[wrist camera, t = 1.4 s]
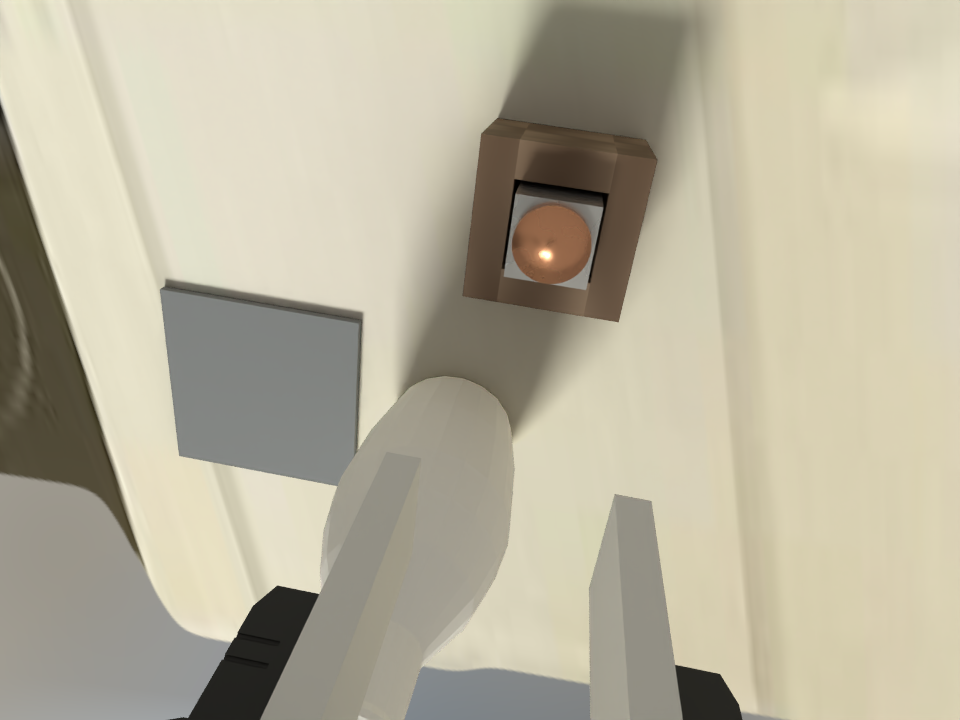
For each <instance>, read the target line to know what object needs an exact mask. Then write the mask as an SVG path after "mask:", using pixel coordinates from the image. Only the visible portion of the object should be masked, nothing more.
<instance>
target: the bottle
mask: <svg viewBox="0 0 960 720" xmlns="http://www.w3.org/2000/svg"><path fill="white" fill-rule="evenodd" d="M386 452H390V453H396V454H401V455H407V456H412V457H417V458H421V468H420V478H419V488H418V499H417V509H416V520H415V530H414V540H413V551H412V556H411V559H410V562H409V565H408V568H407V571H406V574H405V577H404V580H403V583H402V586H401V589H400V592H399V595H398V598H397V601H396V604H395V607H394V610H393V613H392V616H391V619H390V622H389V625H388V628H387V631H386V634H385V637H384V640H383V643H382V646H381V649H380V652H379V655H378V658H377V661H376V665H375V668H374V671H373V674H372V677H371V680H370V683H369V686H368V689H367V692H366V695H365V698H364V701H363V704H362V707H361V710H360V713H359V716H358V719H357V720H404V718H405V715H406V712H407V708H408V706H409V703H410V699H411V696H412V693H413V690H414V687H415V684H416V681H417V677H418V675H419V672H420V668H422V667H423V666H424V665H425V664H426V663H427V662H428V661H429V660H431V659H432V658H433V657H434V656H435V655H436V654H437V653H438V652H440V651H441V650H442V649H443V648H444V647H445V646H446V645H447V644H449V643H450V642H451V641H452V640H453V639H454V638H455V637H456V636H458V635H459V634H460V633H461V632H462V631H463V630H464V629H465V627H466V625H467V624H468V622H469V621H470V619H471V617H472V616H473V614H474V613H475V611H476V609H477V608H478V606H479V605H480V603H481V601H482V600H483V598H484V597H485V595H486V593H487V591H488V590H489V588H490V586H491V585H492V583H493V581H494V580H495V577H496V575H497V572H498V569H499V567H500V564H501V561H502V559H503V556H504V554H505V551H506V548H507V546H508V537H509V529H510V518H511V506H512V494H513V481H514V457H513V446H512V434H511V427H510V423H509V420H508V416H507V413H506V411H505V410H504V408H503V407H502V405H501V404H500V402H499V401H498V399H497V398H496V397H495V396H493V395H492V394H491V393H490V392H489V391H487V390H486V389H485V388H484V387H482V386H480V385H478V384H476V383H473V382H471V381H469V380H466V379H464V378H457V377H449V376H441V377H434V378H428V379H425V380H423V381H421V382H419V383H417V384H415V385H413V386H411V387H410V388H409V389H408V390H407V391H406V392H405V393H404V394H403V395H402V396H401V397H400V398H399V399H398V400H397V402H396V403H395V404H394V405H393V406H392V407H391V408H390V409H389V410H388V412H387V413H386V414H385V415H384V416H383V417H382V418H381V419H380V421H379V422H378V423H377V424H376V425H375V426H374V427H373V428H372V429H371V431H370V433H369V434H368V436H367V437H366V439H365V440H364V442H363V444H362V445H361V447H360V448H359V450H358V451H357V453H356V454H355V456H354V458H353V459H352V461H351V462H350V464H349V465H348V467H347V468H346V470H345V472H344V473H343V475H342V476H341V479H340V481H339V484H338V487H337V489H336V492H335V495H334V497H333V501H332V504H331V507H330V511H329V514H328V518H327V521H326V525H325V528H324V532H323V544H322V555H321V567H320V580H321V590H322V588H323V586H324V584H325V581H326V579H327V577H328V575H329V573H330V571H331V569H332V567H333V564H334V562H335V560H336V558H337V556H338V554H339V552H340V550H341V548H342V545H343V543H344V541H345V539H346V537H347V535H348V533H349V531H350V529H351V526H352V524H353V522H354V520H355V518H356V516H357V514H358V512H359V509H360V507H361V505H362V503H363V501H364V499H365V497H366V495H367V493H368V490H369V488H370V486H371V484H372V482H373V480H374V478H375V476H376V474H377V471H378V469H379V467H380V465H381V463H382V461H383V459H384V457H385V454H386Z"/></svg>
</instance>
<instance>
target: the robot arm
mask: <svg viewBox="0 0 960 720" xmlns="http://www.w3.org/2000/svg"><path fill="white" fill-rule="evenodd" d="M420 468H421V458H417V457H412V456H407V455H401V454H396V453H390V452H386V454H385V457H384V459H383V461H382V463H381V465H380V467H379V469H378V471H377V474H376V476H375V478H374V480H373V482H372V484H371V486H370V488H369V490H368V493H367V495H366V497H365V499H364V501H363V503H362V505H361V507H360V509H359V512H358V514H357V516H356V518H355V520H354V522H353V524H352V526H351V529H350V531H349V533H348V535H347V537H346V539H345V541H344V543H343V545H342V548H341V550H340V552H339V554H338V556H337V558H336V560H335V562H334V564H333V567H332V569H331V571H330V573H329V575H328V577H327V579H326V581H325V584H324V586H323V588H322V590H321V592H320V594H316V593H311V592H306V591H301V590H296V589H291V588H286V587H281V586H276V587H275V588H274V589H273V590H272V591H270V592H269V593H268V594H267V595H266V596H264V597H263V598H262V599H261V600H260V601H258V602H257V603H256V604H255V605H254V606H253V607H252V609H251V610H250V612H249V614H248V616H247V617H246V619H245V621H244V622H243V624H242V626H241V628H240V629H239V631H238V634H237V637H236V638H234V640H233V641H232V643H231V645H230V647H229V648H228V650H227V652H226V654H225V657H224V660H222V661H221V662H220V664H219V666H218V667H217V669H216V671H215V673H214V674H213V676H212V678H211V680H210V681H209V683H208V685H207V687H206V688H205V690H204V692H203V693H202V695H201V697H200V698H199V700H198V702H197V704H196V705H195V707H194V709H193V711H192V712H191V714H190V716H189V718H184V717H183V718H177V719H170V720H357V719H358V716H359V713H360V710H361V707H362V704H363V701H364V698H365V695H366V692H367V689H368V686H369V683H370V680H371V677H372V674H373V671H374V668H375V665H376V661H377V658H378V655H379V652H380V649H381V646H382V643H383V640H384V637H385V634H386V631H387V628H388V625H389V622H390V619H391V616H392V613H393V610H394V607H395V604H396V601H397V598H398V595H399V592H400V589H401V586H402V583H403V580H404V577H405V574H406V571H407V568H408V565H409V562H410V559H411V556H412V551H413V540H414V530H415V520H416V509H417V499H418V488H419V478H420ZM589 633H590V720H742V716H741V712H740V708H739V704H738V703H737V701H736V699H735V698H734V696H733V694H732V693H731V691H730V690H729V688H728V686H727V685H726V683H725V682H724V680H723V678H722V677H721V675H720V674H717V673H712V672H707V671H702V670H697V669H692V668H687V667H683V666H678V665H675V662H674V655H673V648H672V641H671V634H670V627H669V620H668V613H667V606H666V599H665V593H664V586H663V579H662V572H661V565H660V558H659V551H658V544H657V537H656V530H655V523H654V516H653V509H652V502H651V501H648V500H643V499H638V498H632V497H627V496H622V495H616V494H615V496H614V499H613V503H612V507H611V510H610V514H609V517H608V521H607V525H606V528H605V532H604V536H603V539H602V543H601V547H600V550H599V554H598V558H597V561H596V565H595V569H594V572H593V576H592V580H591V583H590V587H589Z"/></svg>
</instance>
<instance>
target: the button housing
mask: <svg viewBox="0 0 960 720" xmlns="http://www.w3.org/2000/svg"><path fill="white" fill-rule="evenodd" d="M656 164H657V158H656V157H655V155H654V153H653V151H652V150H651V148H650V146H649V145H648V143H647V141H646V140H643V139H637V138H630V137H623V136H616V135H609V134H602V133H596V132H589V131H582V130H575V129H568V128H561V127H555V126H548V125H541V124H534V123H527V122H520V121H514V120H507V119H500V118H497V119H496V120H495V121H494V122H493V123H492V124H491V125H490V126H489V127H488V128H487V129H486V130H485V131H484V132H483V133H482V134H481V142H480V150H479V159H478V168H477V176H476V185H475V194H474V202H473V211H472V220H471V228H470V237H469V246H468V254H467V263H466V272H465V280H464V289H463V296H465V297H471V298H477V299H483V300H489V301H495V302H501V303H507V304H513V305H519V306H525V307H531V308H537V309H543V310H549V311H555V312H561V313H567V314H573V315H579V316H585V317H591V318H597V319H603V320H609V321H615V322H619V318H620V314H621V310H622V305H623V301H624V297H625V293H626V289H627V285H628V280H629V276H630V272H631V268H632V264H633V260H634V255H635V251H636V247H637V243H638V239H639V235H640V230H641V226H642V222H643V218H644V214H645V210H646V205H647V201H648V197H649V193H650V189H651V185H652V180H653V176H654V172H655V168H656ZM521 180H524V181H531V182H538V183H544V184H551V185H557V186H564V187H570V188H577V189H583V190H590V191H596V192H602V199H603V212H602V217H601V221H600V226H599V231H598V236H597V240H596V245H595V250H594V255H593V260H592V264H591V269H590V274H589V279H588V283H587V288H586V290H582V289H576V288H570V287H564V286H558V285H552V284H544V283H540V282H534V281H528V280H521V279H515V278H509V277H504V270H505V263H506V257H507V250H508V243H509V236H510V229H511V222H512V215H513V208H514V201H515V194H516V192H517V189H518V187H519V185H520V182H521Z"/></svg>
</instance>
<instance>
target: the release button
mask: <svg viewBox="0 0 960 720" xmlns="http://www.w3.org/2000/svg"><path fill="white" fill-rule="evenodd" d="M602 212H603V199H602V192H596V191H590V190H583V189H577V188H570V187H564V186H557V185H551V184H544V183H538V182H531V181H524V180H521V182H520V185H519V187H518V189H517V192H516V194H515V201H514V208H513V215H512V222H511V229H510V236H509V243H508V250H507V257H506V263H505V270H504V277H509V278H515V279H521V280H528V281H534V282H540V283H544V284H552V285H558V286H564V287H570V288H576V289H582V290H586V288H587V283H588V279H589V274H590V269H591V264H592V260H593V255H594V250H595V245H596V240H597V236H598V231H599V226H600V221H601V217H602Z"/></svg>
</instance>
